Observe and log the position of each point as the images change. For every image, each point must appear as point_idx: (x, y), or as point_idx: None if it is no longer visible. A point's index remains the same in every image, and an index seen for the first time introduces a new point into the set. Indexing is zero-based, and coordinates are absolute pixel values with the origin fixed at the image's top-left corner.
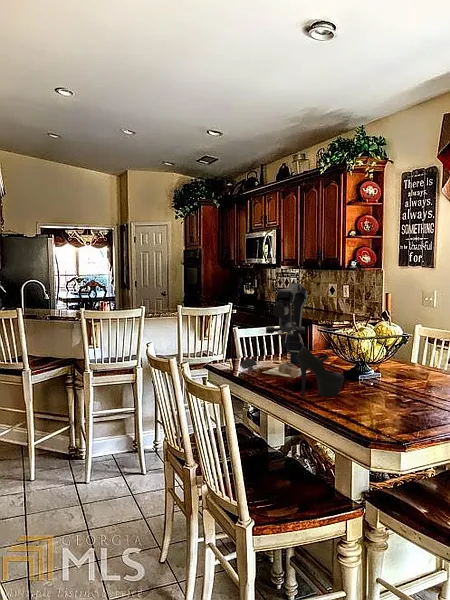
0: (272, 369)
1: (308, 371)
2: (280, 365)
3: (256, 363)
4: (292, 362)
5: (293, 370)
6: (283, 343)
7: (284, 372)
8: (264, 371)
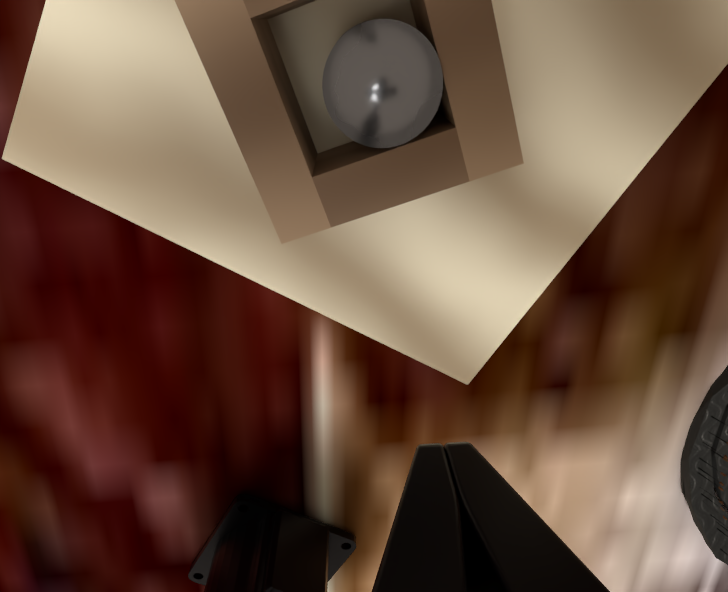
0: (572, 215)
1: (37, 129)
2: (496, 87)
3: (694, 504)
4: (298, 534)
5: None
6: (549, 533)
7: None
8: (722, 67)
